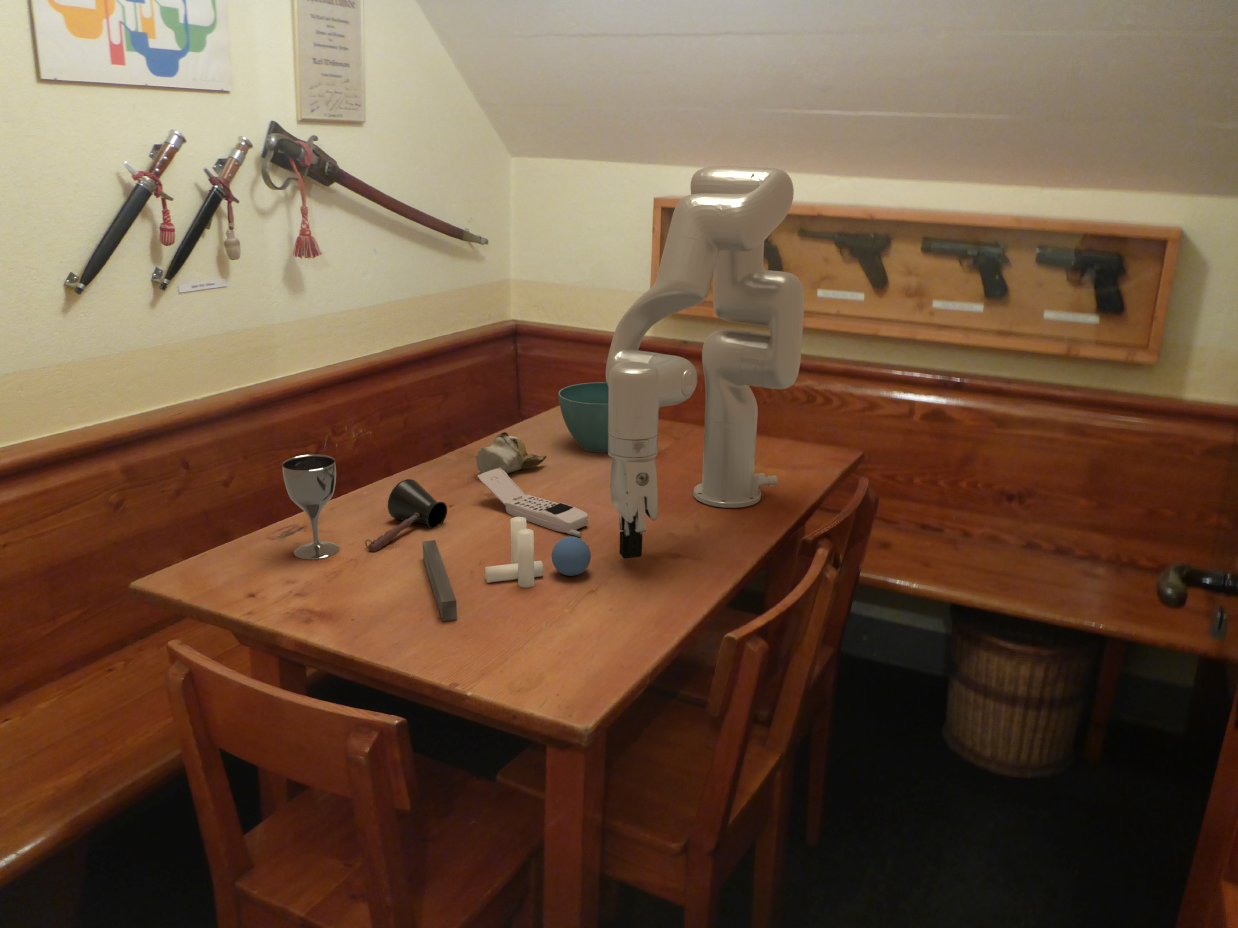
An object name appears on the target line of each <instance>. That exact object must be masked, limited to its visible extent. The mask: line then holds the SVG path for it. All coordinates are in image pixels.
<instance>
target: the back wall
mask: <svg viewBox="0 0 1238 928" xmlns="http://www.w3.org/2000/svg"><path fill="white" fill-rule="evenodd" d="M422 558H423V562H424V567H425V569H426V572H427V575H428V578H429V582H430V586H431V588H432V592H433V595H434V598H435V601H436V604H437V608H438V611H439V614H440V618H441V621H442V622H443V623H444V622H451V621H452V622H453V621H457V620H458V613H457V612H458V608H457V599H456V596H455V593H454V592H455V591H454V590H453V587H452V585H451V581H450V579H449V576H448V573H447V570H446V567H445V563H444V562H443V559H442V555H441V553H440V550H439V548H438V545H437V541H436V539H434V540H433V539H432V540H424V541H422Z"/></svg>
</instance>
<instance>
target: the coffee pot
mask: <svg viewBox="0 0 1238 928" xmlns="http://www.w3.org/2000/svg"><path fill="white" fill-rule="evenodd" d="M387 510H388V511H387V512H388V514H389V515H390V516H391V517H392V518H393V519H394V520H398V521H401V522H400V523H399V524H398V525H397V526H396V527H393V528H392V529H389V530H387V531H385V533H384V534H381V535H380V536H379V537H377V538H376V539H374V540H373V541H372V540H371V539H365V542H364V544H365V547H366V549H367V550H369V552H371V553H375V552H377V551H380V550H381V549H382V548H383V547H386V545H388V544H389V542H392V541H393V540H395V538H396V537H397V536H398V535H399V534H400V533H401V532H402V531H403V530H405V529H407V528H409V527H410V526H411V524H412V523H420V524H426V525H427V526H428V528H429V529H434V528H436V527H439V526H441V525H443V523H444V521H445V519H446V517H447V515H448V505H447V503H446V502H444V501H437V500H436V499H435V498H434V497H433V496H432V495H431V494H430V493H429V492H428V491H427V490H426V489H425V488H423V486H422V485H420V483H418V481H416V480H414V479H412V478H406V479H404V480H401V481H400V482H399V483H397V484H396V485H395V486H394V487H393V489H392V490H391V491H390V494H389V496H388V499H387ZM367 542H370V543H369V544H367Z"/></svg>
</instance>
